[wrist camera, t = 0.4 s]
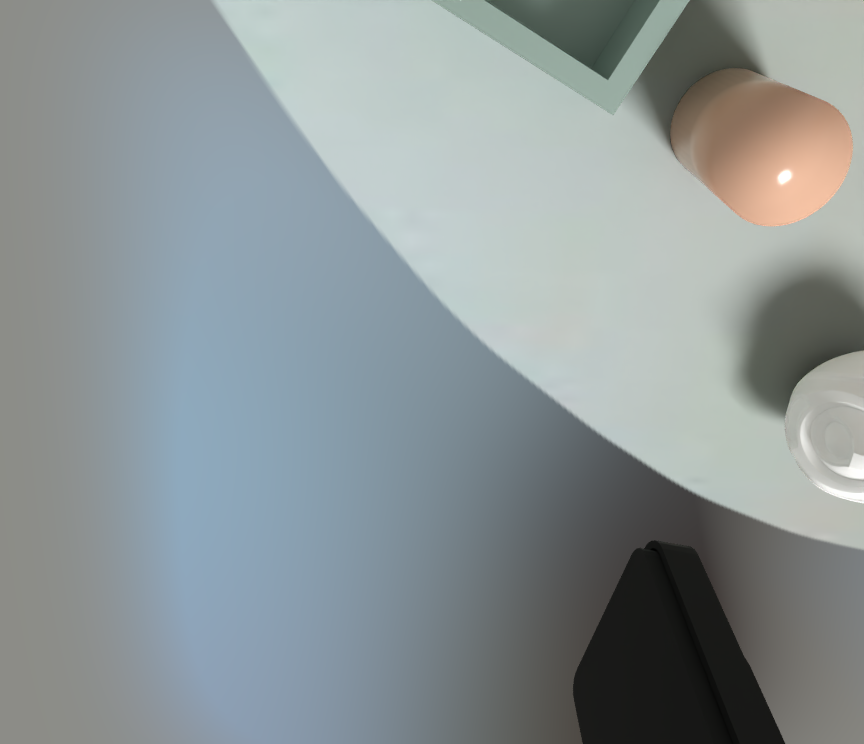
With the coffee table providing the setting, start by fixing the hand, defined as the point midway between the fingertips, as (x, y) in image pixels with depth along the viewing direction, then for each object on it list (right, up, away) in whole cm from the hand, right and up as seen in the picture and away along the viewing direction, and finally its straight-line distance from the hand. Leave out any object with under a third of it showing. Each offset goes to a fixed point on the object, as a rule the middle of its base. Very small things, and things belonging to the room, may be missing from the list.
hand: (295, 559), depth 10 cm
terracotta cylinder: (+16, +14, +25) cm, 33 cm away
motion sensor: (+25, +2, +32) cm, 41 cm away
